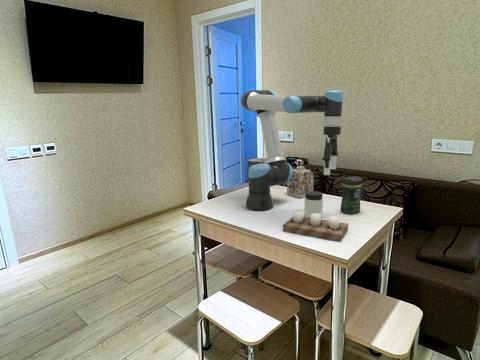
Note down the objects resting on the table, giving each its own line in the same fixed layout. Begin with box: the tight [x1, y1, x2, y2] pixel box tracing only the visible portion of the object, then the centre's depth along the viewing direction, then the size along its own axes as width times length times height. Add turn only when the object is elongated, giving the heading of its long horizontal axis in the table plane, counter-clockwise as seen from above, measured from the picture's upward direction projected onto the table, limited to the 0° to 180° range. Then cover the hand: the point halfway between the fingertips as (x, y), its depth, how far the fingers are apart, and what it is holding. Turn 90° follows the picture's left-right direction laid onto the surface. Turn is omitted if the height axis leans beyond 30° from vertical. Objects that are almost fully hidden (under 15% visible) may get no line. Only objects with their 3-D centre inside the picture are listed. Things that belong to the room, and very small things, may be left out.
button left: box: [292, 209, 304, 224], centre depth 143 cm, size 4×4×5 cm
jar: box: [303, 190, 324, 218], centre depth 158 cm, size 9×8×12 cm
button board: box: [282, 216, 349, 243], centre depth 140 cm, size 25×14×3 cm, turn 60°
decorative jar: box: [286, 165, 315, 199], centre depth 195 cm, size 12×12×18 cm
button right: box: [328, 214, 341, 230], centre depth 135 cm, size 4×4×5 cm
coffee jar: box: [340, 175, 363, 215], centre depth 162 cm, size 10×8×19 cm
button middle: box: [310, 213, 322, 227], centre depth 139 cm, size 4×4×5 cm
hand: (329, 171), depth 148 cm, fingers open, 13 cm apart
